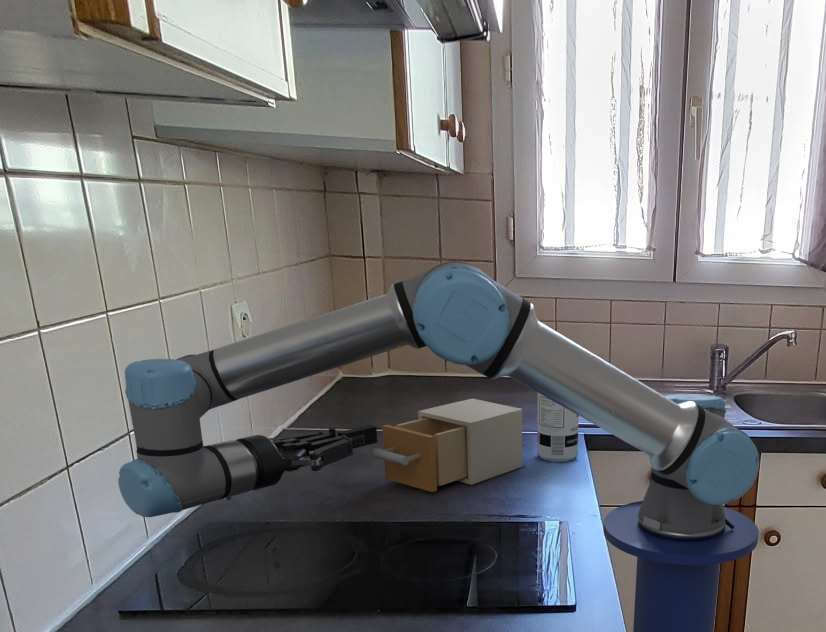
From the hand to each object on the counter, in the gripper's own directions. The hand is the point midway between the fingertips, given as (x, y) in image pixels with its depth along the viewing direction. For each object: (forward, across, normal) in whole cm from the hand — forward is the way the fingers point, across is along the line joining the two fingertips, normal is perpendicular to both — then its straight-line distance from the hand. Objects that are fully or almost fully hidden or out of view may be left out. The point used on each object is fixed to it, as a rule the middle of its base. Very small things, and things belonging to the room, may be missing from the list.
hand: (373, 433), depth 136 cm
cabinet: (+24, 0, -12) cm, 26 cm away
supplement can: (+41, +7, -12) cm, 43 cm away
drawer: (+11, 0, -11) cm, 16 cm away
